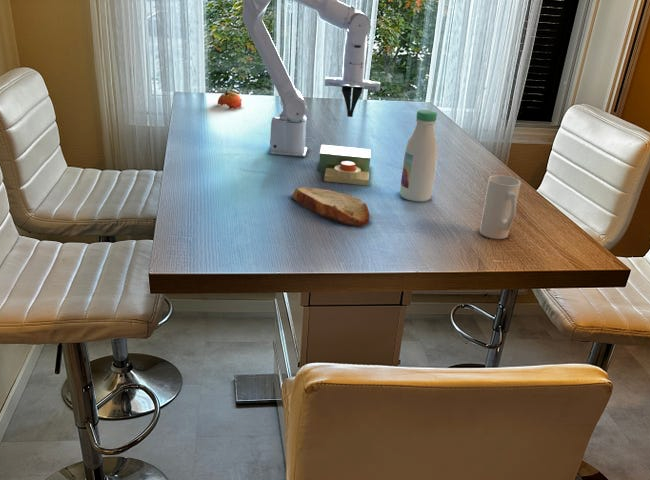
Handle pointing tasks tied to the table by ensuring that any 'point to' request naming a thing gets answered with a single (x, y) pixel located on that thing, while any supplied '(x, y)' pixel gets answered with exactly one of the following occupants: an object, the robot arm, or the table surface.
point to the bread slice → (333, 205)
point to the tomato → (230, 100)
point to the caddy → (334, 161)
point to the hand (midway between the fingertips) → (350, 116)
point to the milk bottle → (420, 159)
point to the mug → (499, 206)
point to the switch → (347, 166)
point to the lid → (345, 152)
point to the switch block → (346, 176)
